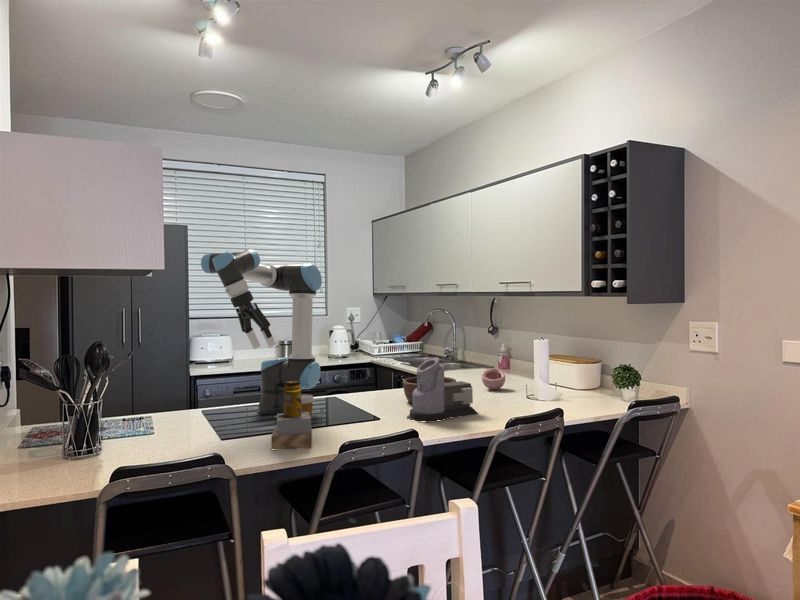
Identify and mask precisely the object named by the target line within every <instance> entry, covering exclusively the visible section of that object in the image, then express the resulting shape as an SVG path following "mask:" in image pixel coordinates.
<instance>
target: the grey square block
mask: <svg viewBox="0 0 800 600" xmlns="http://www.w3.org/2000/svg"><path fill="white" fill-rule="evenodd" d="M301 414H302V415H307V416H303V417H299V418H294V419H289V420H284V419H280V418H277V417H276V424H277V425H276V427H277V430H278V436H281V435H294V434H307V433H311V425H312V416H311V417H310V414H309V412H302V413H301ZM279 415H284V413H280V414H276V416H279Z"/></svg>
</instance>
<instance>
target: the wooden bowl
mask: <svg viewBox="0 0 800 600" xmlns="http://www.w3.org/2000/svg"><path fill="white" fill-rule="evenodd" d="M449 382H457V380H456V379H455V378H452V377H450V376H449V377H447V376H444V383H449ZM402 388H403V392H404V395H405V398H406V400H407V401H408V402H409V403H410V404H411V403H412V405H413V395H412V393H413V391H414V390H415V389H416V388H417V376H413V377H408V378H405V379H403V381H402Z"/></svg>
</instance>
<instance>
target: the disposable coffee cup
mask: <svg viewBox="0 0 800 600" xmlns="http://www.w3.org/2000/svg"><path fill="white" fill-rule="evenodd" d="M314 400H315V398H314V395H312V394H309V393H307V394H304V393H303V394H302V393H301V405H302V406H301V407H302V412H309V414H310V417H311V418H312V413H313V405H314V404H313V403H314Z"/></svg>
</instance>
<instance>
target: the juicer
mask: <svg viewBox="0 0 800 600" xmlns="http://www.w3.org/2000/svg"><path fill="white" fill-rule="evenodd" d="M416 377H417V388H416V389H415V390H414V391H413V393H412V395H413V404H412V408H410V409H409V414H408V415H407V416H406V419H407V420H408V419H410V420H415V421H437V420H443V419H446V420H448V419H450V418H449V417H455V418H459V417H458V416H462V417H467V416H468V415H469V416H474V415H475V416H476V415H479V413H478V412H477V410H475V409H474V408H473V406H471V404H473V401H474V398H473V394H474V393H473V385H472V383H470V382H466V381H462V380H458V381H456V382H449V383H444V377H445V365H444V364H443V363H442V364H441V363H440V358H439V357H436V356H434V357H432V358H429V359H427V360H426V361H425V360H424V362H422V363H421V364H420V365H419V366H418V368H416ZM447 418H448V419H447ZM410 420H409V421H410ZM443 421H444V420H443ZM437 422H438V421H437Z"/></svg>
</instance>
